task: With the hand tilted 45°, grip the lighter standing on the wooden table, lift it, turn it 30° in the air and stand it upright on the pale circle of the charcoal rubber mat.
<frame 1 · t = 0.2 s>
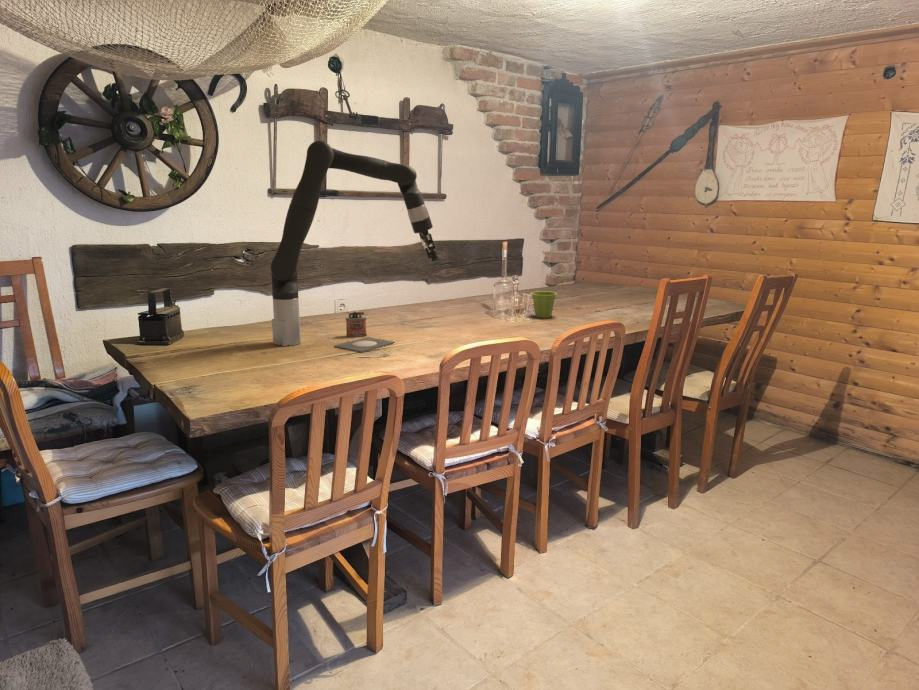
hand: (432, 259, 242), 31 cm above the table, tool tilted 20°, fingers open, 8 cm apart
mat: (364, 345, 233), on the table
lighter: (356, 336, 248), on the table
plant pot: (542, 317, 290), on the table
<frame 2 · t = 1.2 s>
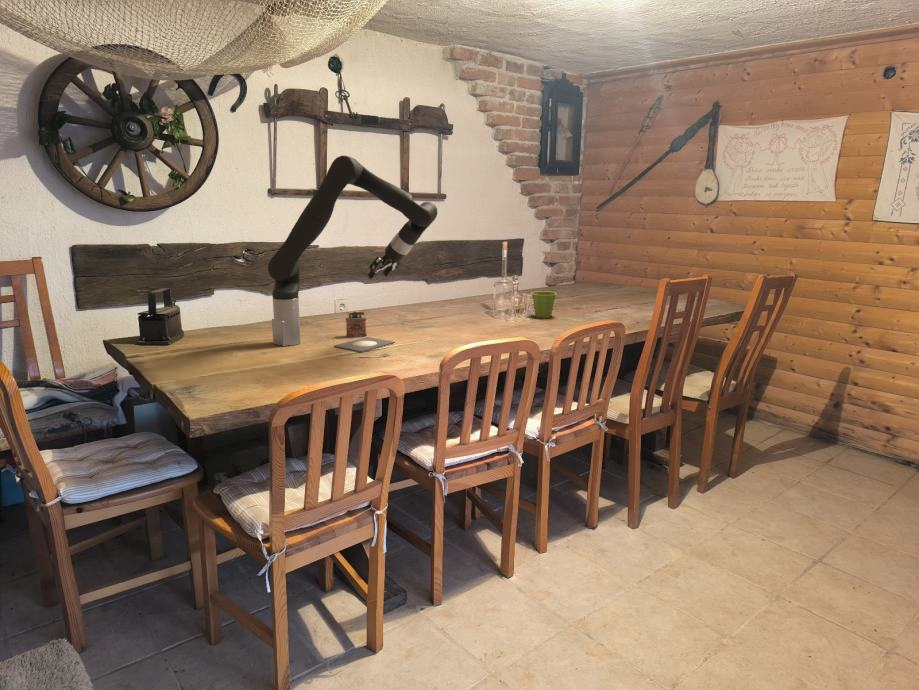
hand: (377, 276, 235), 25 cm above the table, tool tilted 45°, fingers open, 8 cm apart
nothing on the table moved.
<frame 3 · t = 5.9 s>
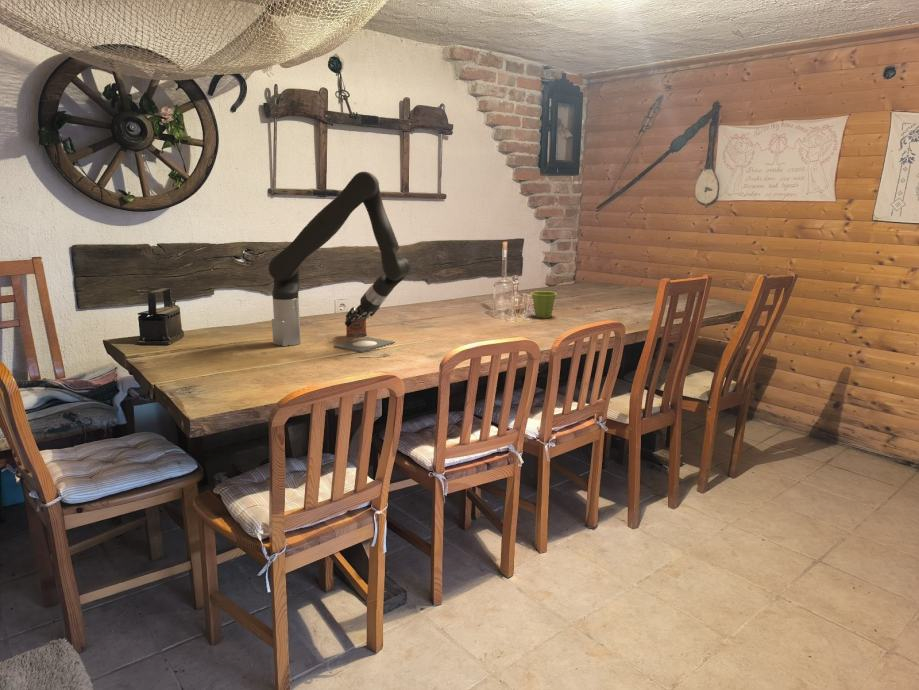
hand: (353, 323, 247), 5 cm above the table, tool tilted 45°, fingers closed on lighter, 7 cm apart
lighter: (356, 336, 248), on the table, touching gripper
everything else where it was.
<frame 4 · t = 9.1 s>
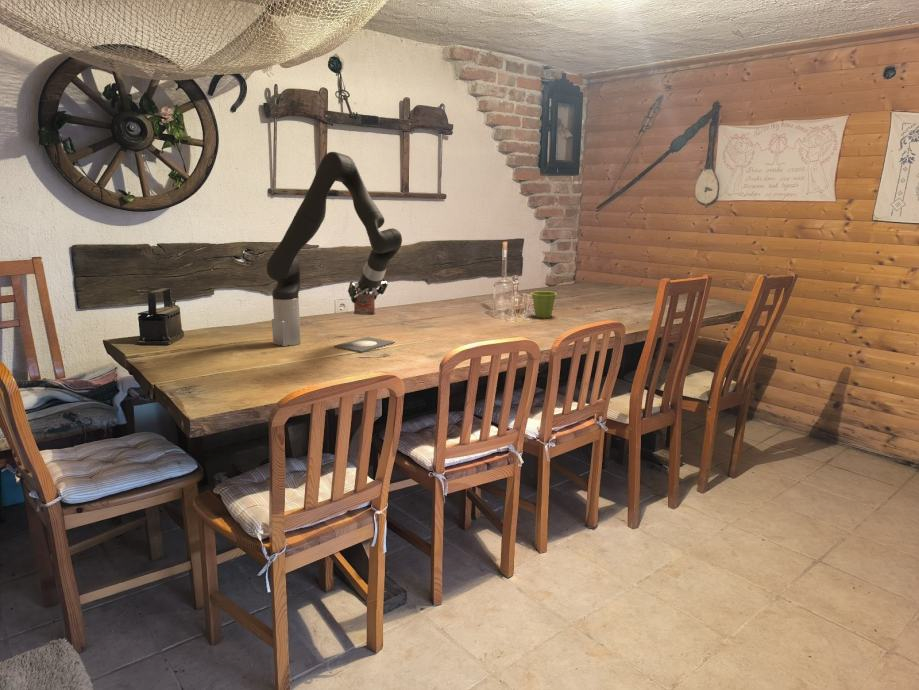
hand: (362, 300, 233), 16 cm above the table, tool tilted 45°, fingers closed on lighter, 7 cm apart
lighter: (364, 314, 233), point 11 cm above the table, touching gripper
everything else where it was.
when the fingers open (7 cm above the table, at t = 12.3 s): lighter drops 1 cm, resting on mat.
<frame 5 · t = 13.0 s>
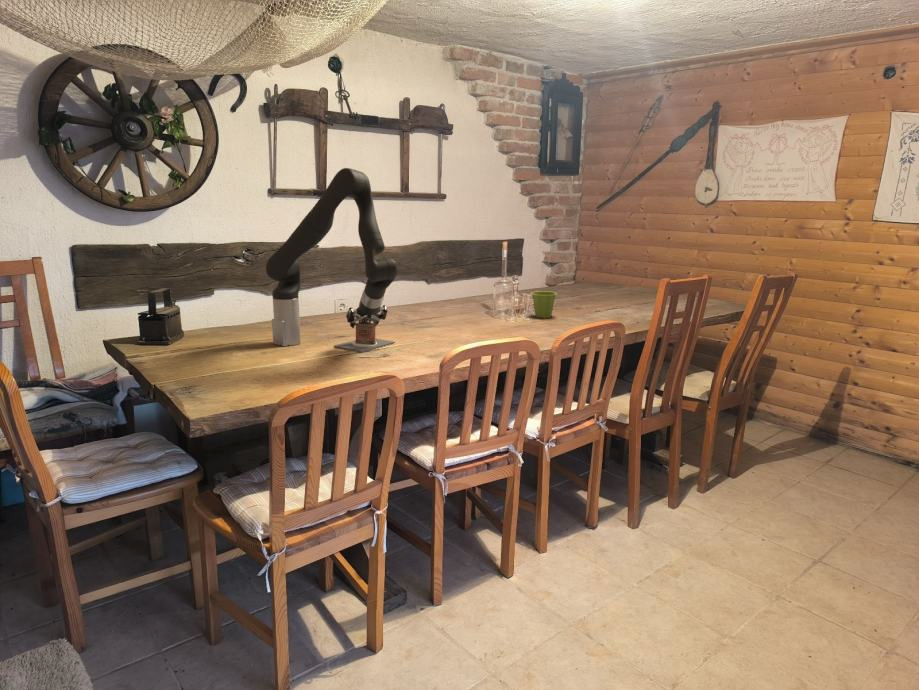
hand: (363, 325, 232), 7 cm above the table, tool tilted 45°, fingers open, 8 cm apart
lighter: (365, 343, 233), point 1 cm above the table, touching mat
everything else where it was.
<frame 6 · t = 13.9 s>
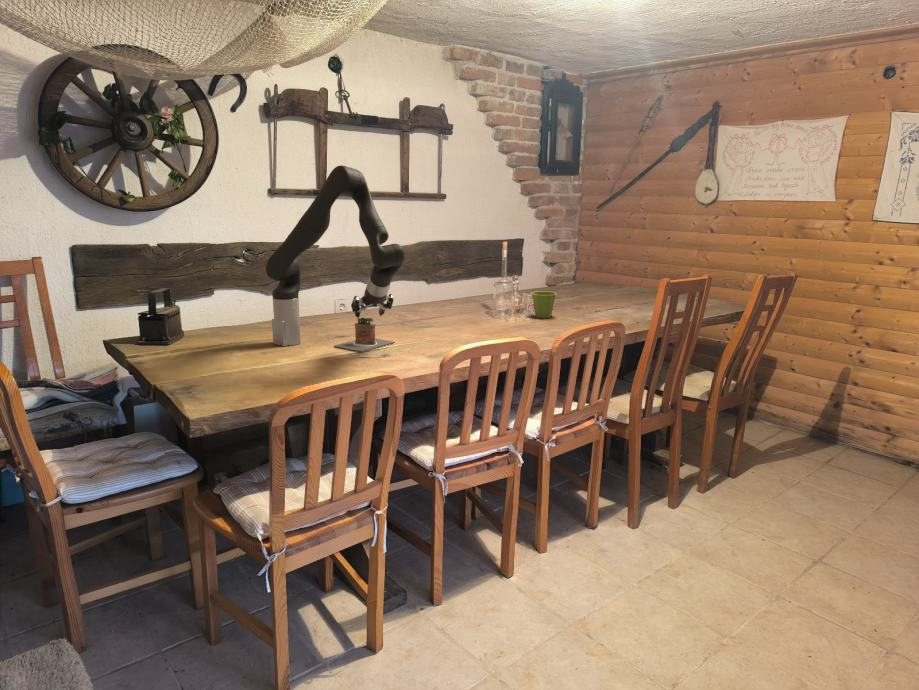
hand: (368, 314, 225), 12 cm above the table, tool tilted 45°, fingers open, 8 cm apart
nothing on the table moved.
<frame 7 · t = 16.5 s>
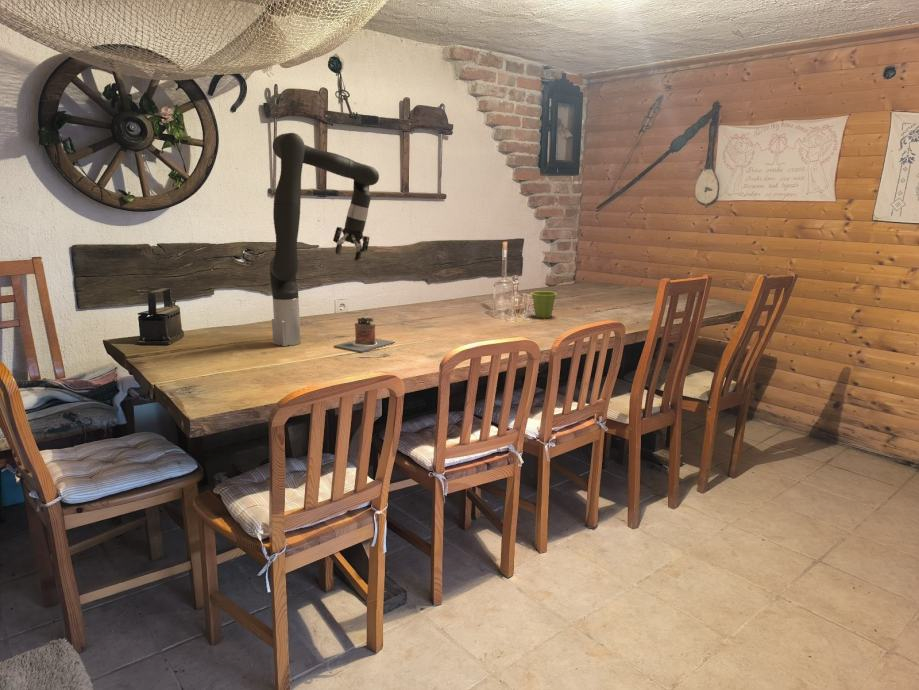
hand: (347, 257, 247), 30 cm above the table, tool tilted 15°, fingers open, 8 cm apart
nothing on the table moved.
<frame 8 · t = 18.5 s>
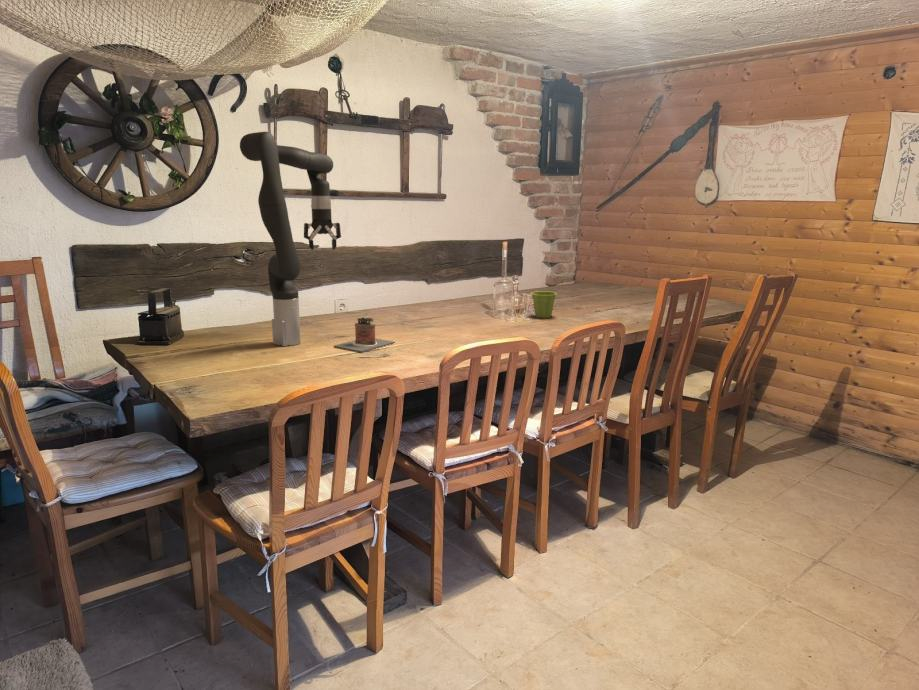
hand: (323, 249, 249), 33 cm above the table, tool pointing down, fingers open, 8 cm apart
nothing on the table moved.
at the end: lighter inside the target area (0.3 cm from its centre), point 0.5 cm above the table; lighter tilted 0°; the gripper is holding nothing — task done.
